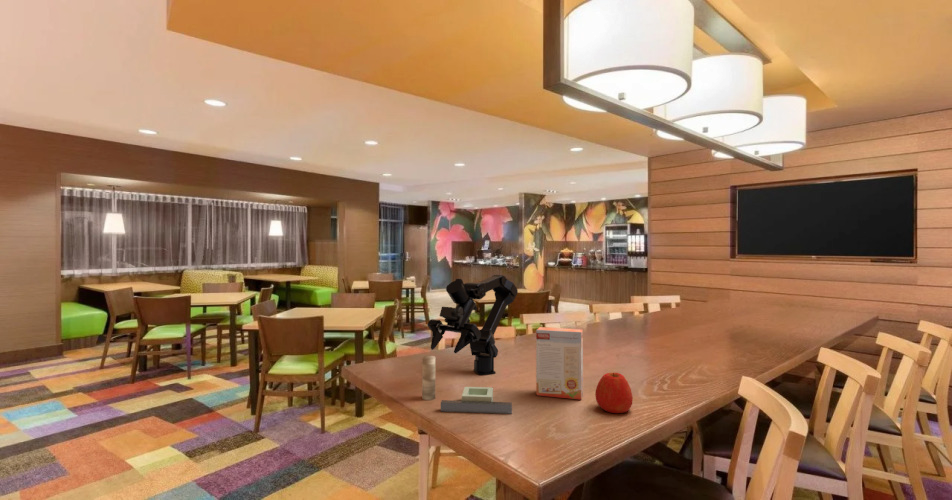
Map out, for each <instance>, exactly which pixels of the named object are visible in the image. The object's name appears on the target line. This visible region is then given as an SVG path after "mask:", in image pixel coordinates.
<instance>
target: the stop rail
mask: <svg viewBox="0 0 952 500" xmlns="http://www.w3.org/2000/svg"><path fill="white" fill-rule="evenodd" d="M512 404H513V403H512V402H511V401H510V402H508V401H507V402H506V401H493V402H483V401H462V400H450V399H449V400H448V399H447V400H445V399H443V400H440V412H445V413H453V412H454V413H473V414H474V413H475V414H501V415H503V414H505V415H506V414H508V415H512V414H513V407H512V406H513V405H512Z"/></svg>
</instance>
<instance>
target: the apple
mask: <svg viewBox="0 0 952 500" xmlns="http://www.w3.org/2000/svg"><path fill="white" fill-rule="evenodd" d="M594 395H595V401H596V404H597V405H598V406H599V407H600V408H601V409H602V410H604V411H606V413H607V412H608V413H613V414H622V413H626V412H628V411H629V410H630V409H631V408H632V406H633V400H634V397H633V392H632V388H631V386H630V384H629V382H628V380H627V379H626V378H625V376H624V375H623V374H621V373H619V372H607V373H605V374H603V375H601V378H600V379H599V381H598V383H597V385H596V389H595V394H594Z"/></svg>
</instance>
